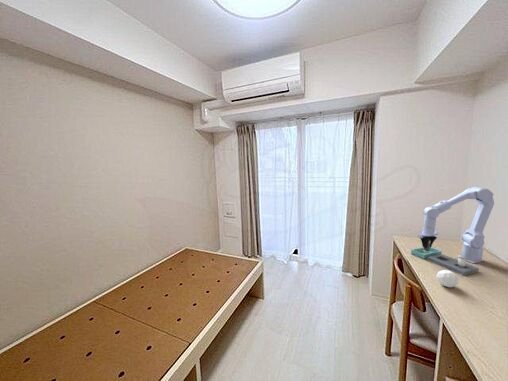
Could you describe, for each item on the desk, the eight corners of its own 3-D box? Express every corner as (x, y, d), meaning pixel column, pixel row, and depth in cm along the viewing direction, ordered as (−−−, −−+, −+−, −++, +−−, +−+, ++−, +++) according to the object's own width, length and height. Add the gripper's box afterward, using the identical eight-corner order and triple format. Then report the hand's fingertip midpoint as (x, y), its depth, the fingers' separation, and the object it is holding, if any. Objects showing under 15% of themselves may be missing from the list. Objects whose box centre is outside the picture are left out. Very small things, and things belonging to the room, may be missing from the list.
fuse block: (440, 256, 132) (441, 253, 132) (478, 271, 115) (478, 268, 115) (426, 259, 129) (427, 256, 128) (463, 275, 112) (463, 272, 111)
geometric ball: (445, 292, 103) (439, 282, 100) (436, 278, 109) (431, 268, 107) (464, 288, 99) (459, 278, 97) (454, 274, 106) (449, 264, 104)
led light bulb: (425, 250, 137) (426, 239, 136) (430, 252, 134) (431, 240, 133) (422, 251, 136) (423, 239, 135) (427, 253, 133) (428, 241, 132)
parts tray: (427, 250, 141) (428, 246, 141) (441, 255, 134) (441, 251, 133) (411, 253, 137) (411, 249, 136) (424, 259, 129) (424, 254, 129)
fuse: (459, 267, 120) (460, 254, 118) (465, 270, 117) (467, 256, 115) (455, 268, 119) (457, 255, 117) (462, 271, 116) (463, 257, 115)
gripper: (430, 223, 138) (428, 243, 140) (414, 225, 134) (412, 246, 136) (442, 226, 132) (440, 247, 134) (426, 229, 127) (423, 250, 130)
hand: (426, 247), depth 134 cm, fingers closed on led light bulb, 3 cm apart
